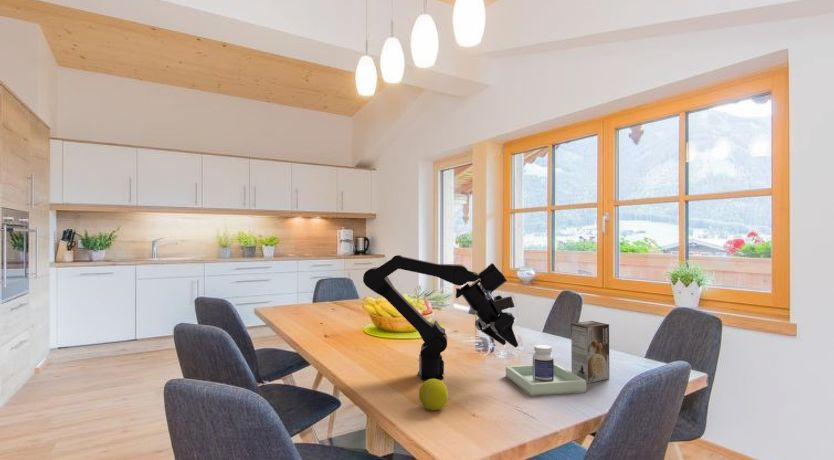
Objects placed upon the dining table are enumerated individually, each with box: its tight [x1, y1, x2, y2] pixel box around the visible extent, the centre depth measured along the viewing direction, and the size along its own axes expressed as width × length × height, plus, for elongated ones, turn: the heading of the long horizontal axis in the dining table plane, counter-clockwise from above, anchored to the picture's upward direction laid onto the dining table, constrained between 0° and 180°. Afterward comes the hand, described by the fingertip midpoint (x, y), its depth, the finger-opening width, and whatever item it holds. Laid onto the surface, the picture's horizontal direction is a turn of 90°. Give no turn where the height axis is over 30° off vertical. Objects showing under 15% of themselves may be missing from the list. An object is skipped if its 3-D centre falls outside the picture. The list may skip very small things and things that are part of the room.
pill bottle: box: [532, 344, 555, 383], centre depth 122 cm, size 6×6×10 cm
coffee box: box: [570, 320, 610, 384], centre depth 127 cm, size 9×6×16 cm
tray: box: [505, 363, 587, 397], centre depth 121 cm, size 16×16×3 cm
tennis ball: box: [418, 379, 449, 411], centre depth 103 cm, size 7×7×7 cm
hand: (510, 345), depth 125 cm, fingers open, 9 cm apart
